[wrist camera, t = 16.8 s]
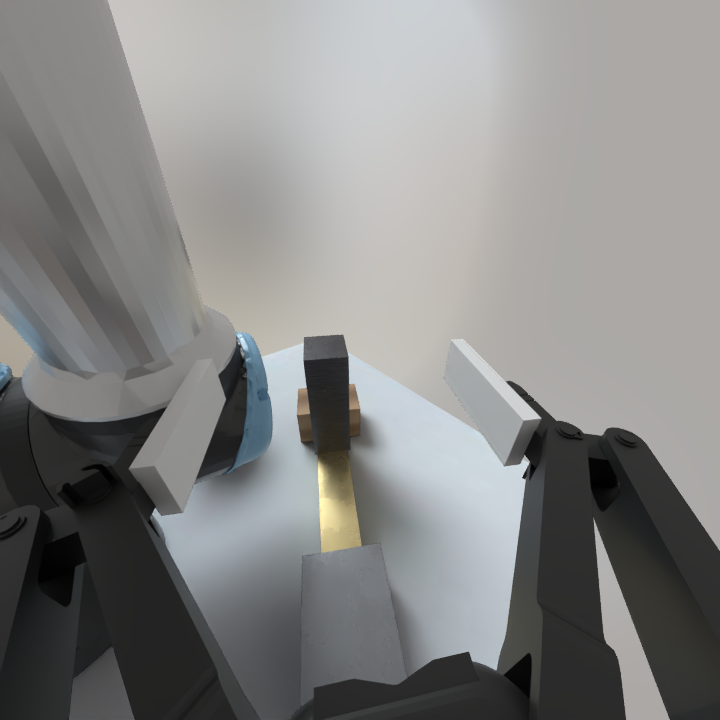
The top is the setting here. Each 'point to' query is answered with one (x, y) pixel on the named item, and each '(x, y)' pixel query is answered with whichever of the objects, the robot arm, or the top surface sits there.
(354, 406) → the open wooden box
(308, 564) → the sleeve
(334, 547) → the grey yellow upright-t piece
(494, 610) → the top surface
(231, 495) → the top surface
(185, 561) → the top surface
